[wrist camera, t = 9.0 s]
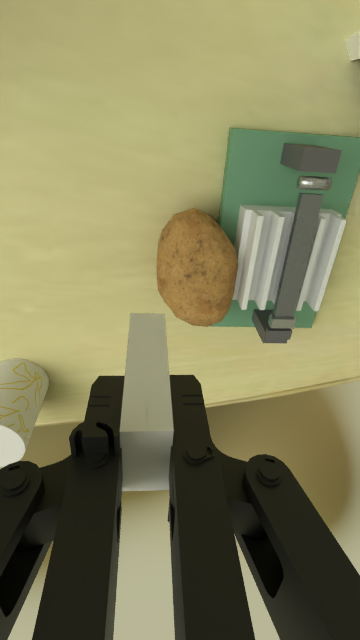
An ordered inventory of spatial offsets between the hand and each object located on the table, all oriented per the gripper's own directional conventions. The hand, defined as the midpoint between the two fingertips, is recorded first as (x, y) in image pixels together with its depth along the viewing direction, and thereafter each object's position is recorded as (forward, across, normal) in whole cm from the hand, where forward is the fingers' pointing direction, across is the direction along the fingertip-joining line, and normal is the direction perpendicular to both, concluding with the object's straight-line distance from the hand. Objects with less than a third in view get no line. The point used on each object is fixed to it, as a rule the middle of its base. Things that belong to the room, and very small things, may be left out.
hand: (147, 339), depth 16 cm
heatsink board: (+28, +16, -4) cm, 33 cm away
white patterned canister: (+29, -19, -27) cm, 44 cm away
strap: (+22, +16, -4) cm, 27 cm away
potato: (+29, +6, -6) cm, 30 cm away
